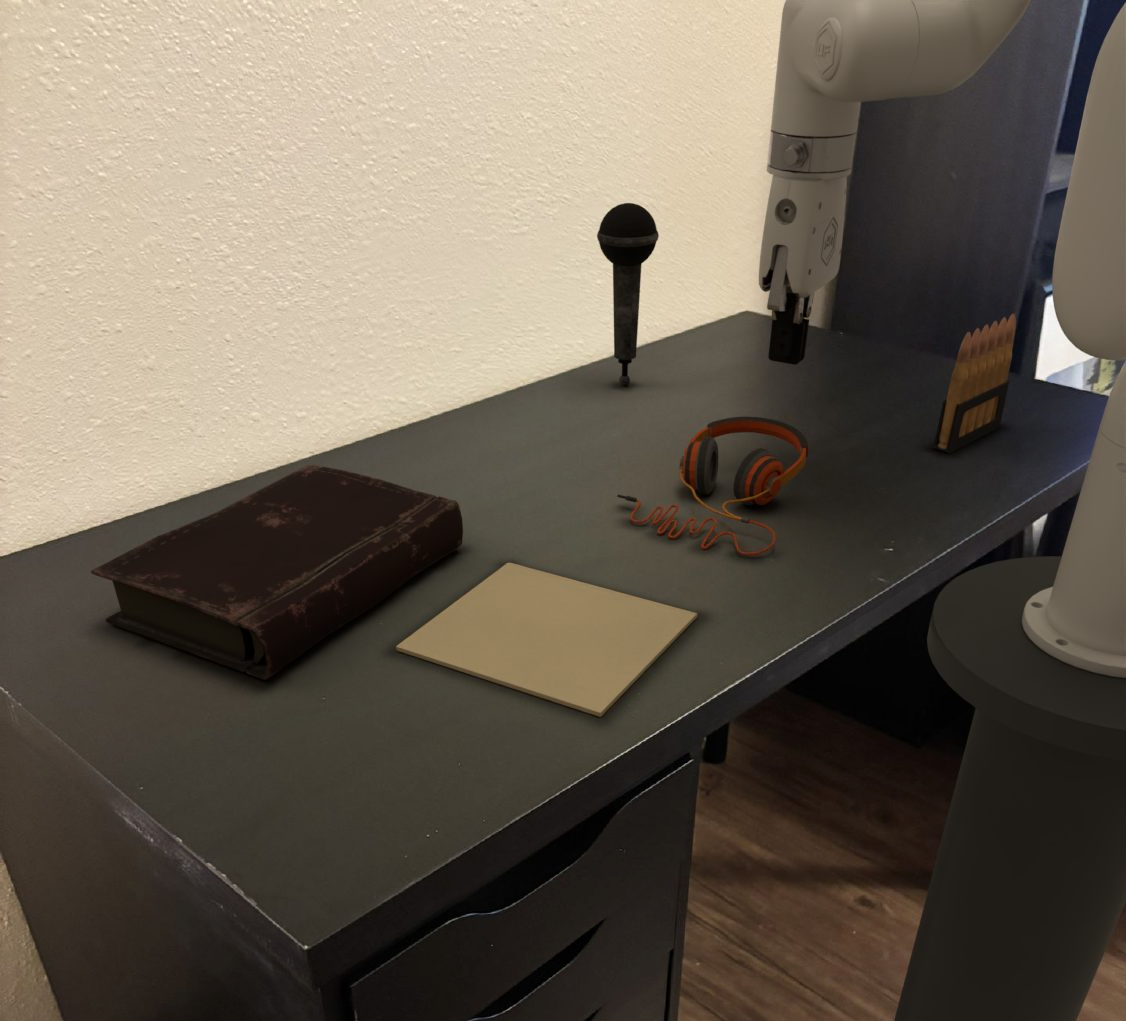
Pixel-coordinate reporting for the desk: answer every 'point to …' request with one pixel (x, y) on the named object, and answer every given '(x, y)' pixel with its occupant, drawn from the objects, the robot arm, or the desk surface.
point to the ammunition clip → (977, 386)
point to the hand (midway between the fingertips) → (786, 360)
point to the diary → (280, 566)
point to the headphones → (752, 479)
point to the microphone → (627, 272)
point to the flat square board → (550, 637)
